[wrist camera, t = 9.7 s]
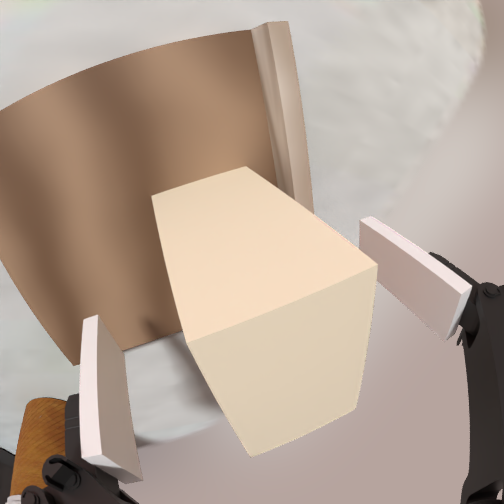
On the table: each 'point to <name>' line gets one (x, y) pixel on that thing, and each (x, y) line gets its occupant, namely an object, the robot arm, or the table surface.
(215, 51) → the shelf board
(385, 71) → the table surface
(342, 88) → the table surface
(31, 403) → the disposable coffee cup
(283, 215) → the carton
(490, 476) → the robot arm
